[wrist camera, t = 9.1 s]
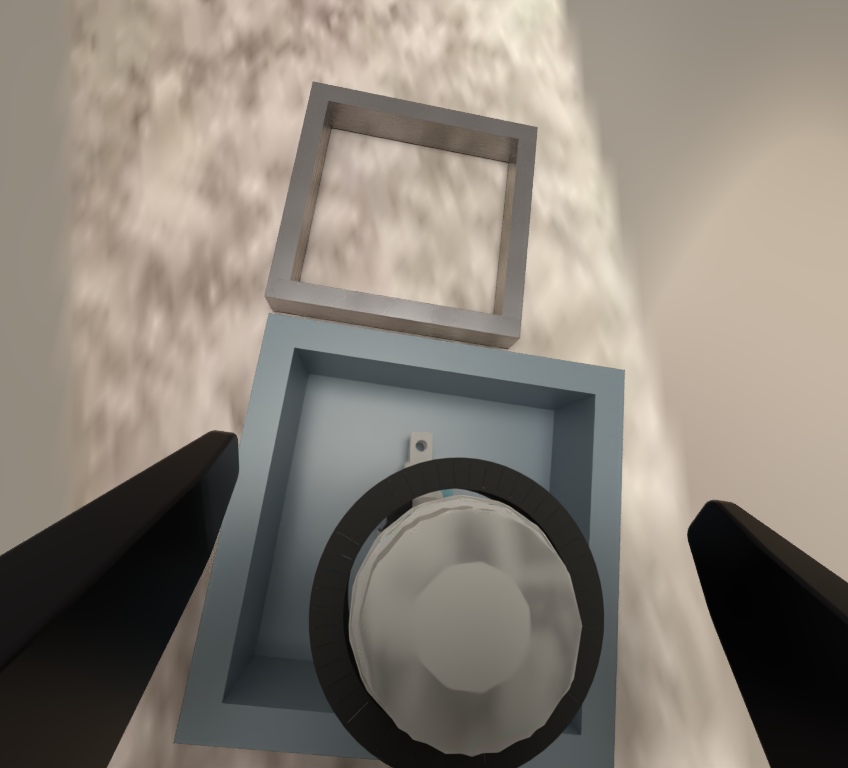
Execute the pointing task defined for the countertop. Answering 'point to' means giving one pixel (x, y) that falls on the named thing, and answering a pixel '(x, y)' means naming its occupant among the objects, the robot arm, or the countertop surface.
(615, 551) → the plastic bin
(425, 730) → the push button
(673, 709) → the countertop surface
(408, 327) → the silver picture frame
